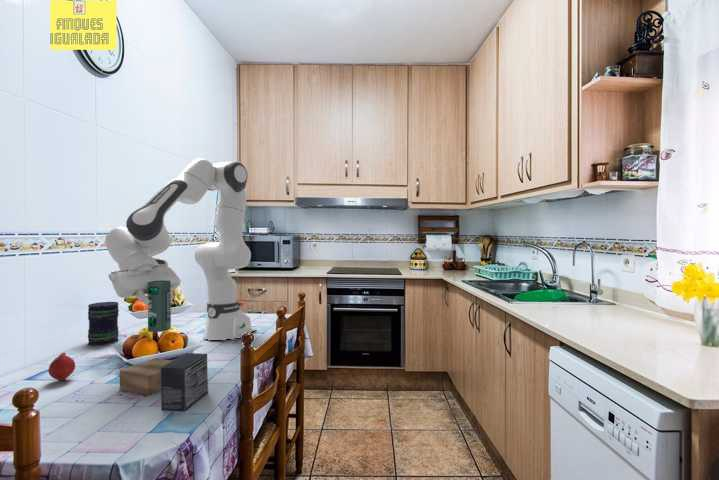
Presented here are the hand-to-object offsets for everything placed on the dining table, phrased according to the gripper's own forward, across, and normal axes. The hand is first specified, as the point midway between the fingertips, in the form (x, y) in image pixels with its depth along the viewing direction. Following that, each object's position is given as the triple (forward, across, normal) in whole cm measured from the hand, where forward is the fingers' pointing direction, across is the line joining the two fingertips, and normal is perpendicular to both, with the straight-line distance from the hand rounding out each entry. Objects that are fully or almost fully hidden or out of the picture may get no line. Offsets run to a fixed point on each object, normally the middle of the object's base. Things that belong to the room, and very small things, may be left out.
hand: (160, 301), depth 114 cm
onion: (+3, -18, +26) cm, 32 cm away
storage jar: (-17, +12, +47) cm, 52 cm away
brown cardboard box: (+21, -10, +8) cm, 25 cm away
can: (+6, 0, +7) cm, 9 cm away
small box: (+33, -15, -4) cm, 37 cm away
